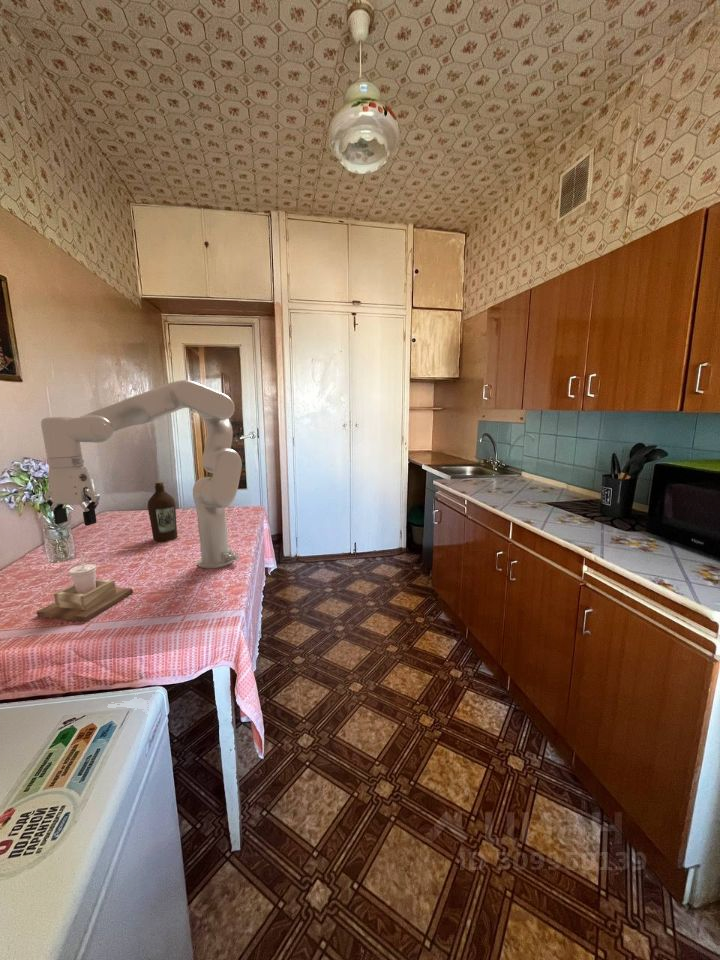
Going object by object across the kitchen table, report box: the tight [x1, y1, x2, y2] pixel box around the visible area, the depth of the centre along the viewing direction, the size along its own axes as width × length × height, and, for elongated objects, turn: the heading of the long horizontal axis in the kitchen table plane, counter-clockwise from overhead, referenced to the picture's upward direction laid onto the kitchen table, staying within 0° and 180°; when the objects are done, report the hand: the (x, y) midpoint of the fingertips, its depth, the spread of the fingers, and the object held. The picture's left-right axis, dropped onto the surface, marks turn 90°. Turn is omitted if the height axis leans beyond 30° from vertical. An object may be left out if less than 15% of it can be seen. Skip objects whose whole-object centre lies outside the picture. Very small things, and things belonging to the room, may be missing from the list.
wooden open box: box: [36, 578, 134, 623], centre depth 109 cm, size 16×16×6 cm
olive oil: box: [147, 481, 178, 543], centre depth 162 cm, size 11×11×25 cm
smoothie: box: [68, 553, 97, 594], centre depth 108 cm, size 6×6×14 cm
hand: (76, 523), depth 105 cm, fingers open, 9 cm apart
